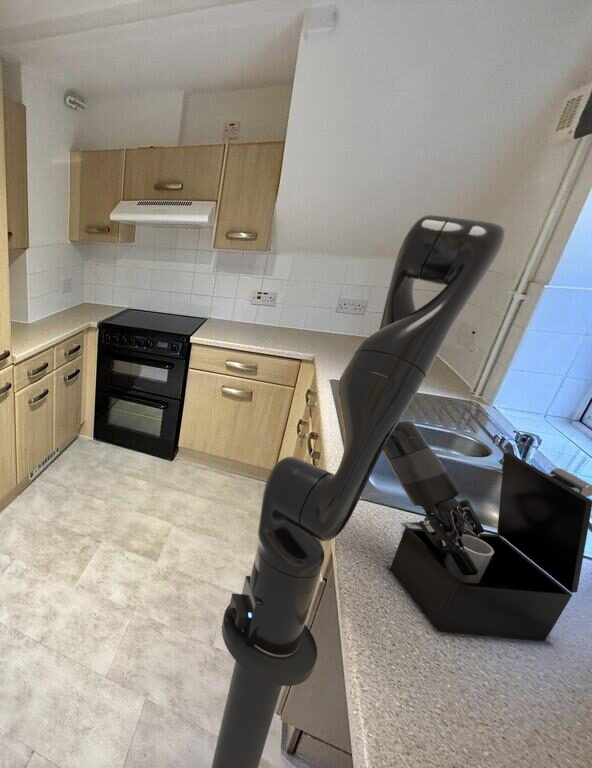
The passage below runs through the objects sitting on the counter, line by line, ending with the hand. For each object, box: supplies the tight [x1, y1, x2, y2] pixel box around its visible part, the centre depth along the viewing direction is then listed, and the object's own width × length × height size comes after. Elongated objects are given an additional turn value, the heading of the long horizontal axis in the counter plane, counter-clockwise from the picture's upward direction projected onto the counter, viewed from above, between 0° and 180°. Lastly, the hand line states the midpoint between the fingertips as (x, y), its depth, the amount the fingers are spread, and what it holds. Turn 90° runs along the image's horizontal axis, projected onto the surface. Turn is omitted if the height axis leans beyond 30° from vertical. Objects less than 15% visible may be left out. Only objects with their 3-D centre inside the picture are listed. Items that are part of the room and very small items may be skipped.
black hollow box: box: [389, 527, 573, 642], centre depth 73 cm, size 17×14×10 cm
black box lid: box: [497, 452, 592, 594], centre depth 67 cm, size 17×14×5 cm
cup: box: [443, 534, 494, 583], centre depth 74 cm, size 5×5×8 cm
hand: (478, 567), depth 72 cm, fingers closed on cup, 5 cm apart
